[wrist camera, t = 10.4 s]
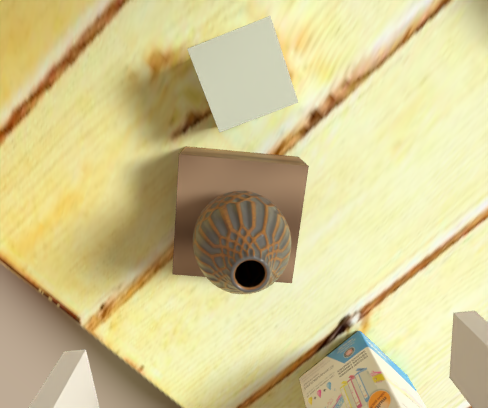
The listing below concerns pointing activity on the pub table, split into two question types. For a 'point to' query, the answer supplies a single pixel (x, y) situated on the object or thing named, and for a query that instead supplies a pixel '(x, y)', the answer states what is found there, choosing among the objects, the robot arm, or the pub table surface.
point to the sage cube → (243, 74)
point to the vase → (241, 242)
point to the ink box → (358, 379)
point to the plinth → (228, 180)
